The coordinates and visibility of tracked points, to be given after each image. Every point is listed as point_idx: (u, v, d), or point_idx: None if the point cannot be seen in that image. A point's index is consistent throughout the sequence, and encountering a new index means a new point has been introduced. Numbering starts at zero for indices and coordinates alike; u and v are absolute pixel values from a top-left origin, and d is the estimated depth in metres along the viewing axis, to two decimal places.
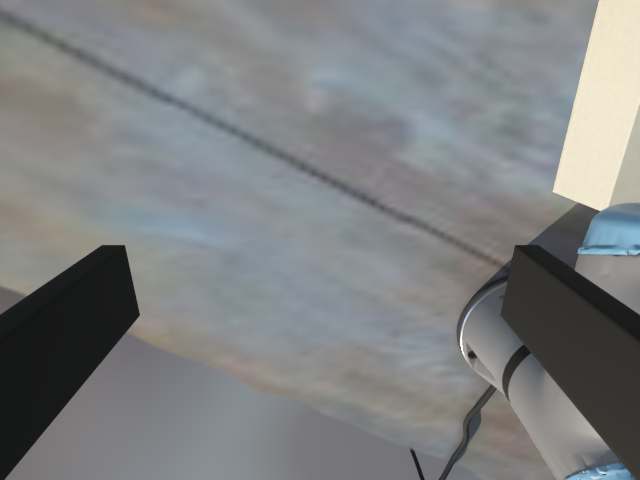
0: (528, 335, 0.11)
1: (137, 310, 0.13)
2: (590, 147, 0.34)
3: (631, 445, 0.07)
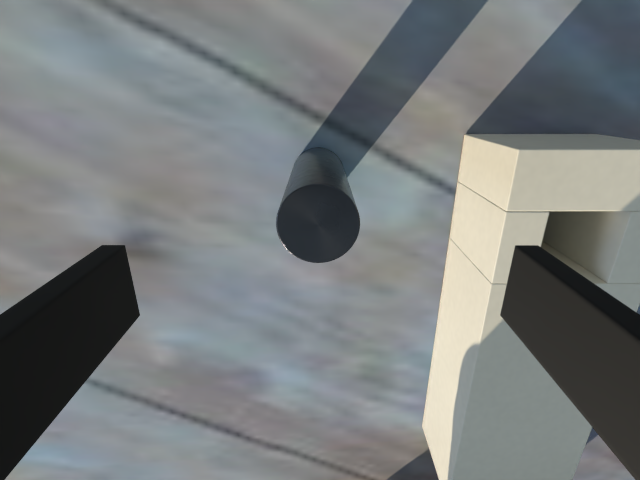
0: (528, 335, 0.11)
1: (137, 310, 0.13)
2: (439, 420, 0.33)
3: (631, 445, 0.07)
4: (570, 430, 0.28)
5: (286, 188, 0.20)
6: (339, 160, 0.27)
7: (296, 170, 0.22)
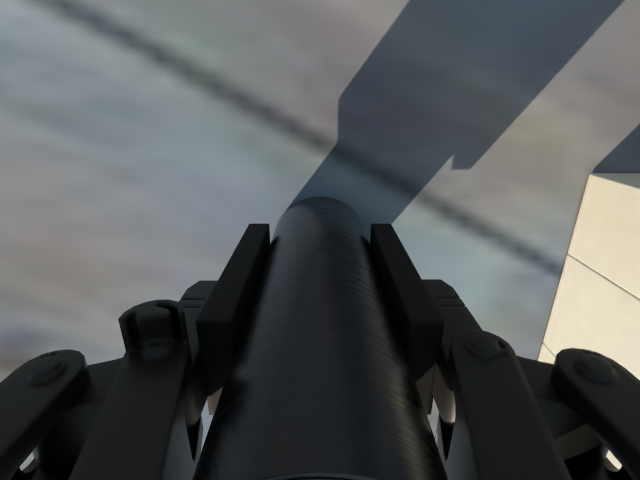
0: None
1: None
2: None
3: None
4: None
5: (234, 355, 0.07)
6: (359, 223, 0.14)
7: (269, 277, 0.09)
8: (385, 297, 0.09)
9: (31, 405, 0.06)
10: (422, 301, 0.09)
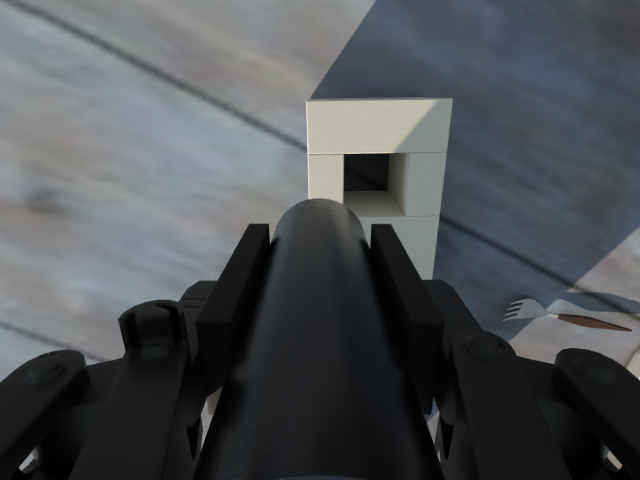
0: None
1: None
2: None
3: None
4: None
5: (233, 357, 0.07)
6: (359, 224, 0.14)
7: (269, 279, 0.09)
8: (384, 299, 0.09)
9: (31, 405, 0.06)
10: (422, 301, 0.09)
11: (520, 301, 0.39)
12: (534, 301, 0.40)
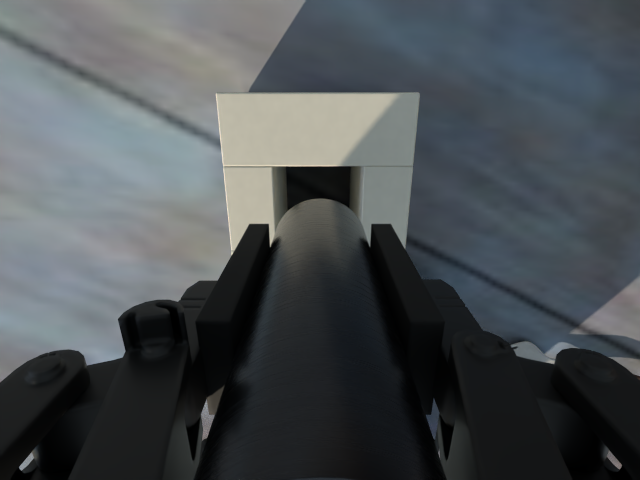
0: None
1: None
2: None
3: None
4: None
5: (235, 358, 0.07)
6: (359, 225, 0.14)
7: (269, 279, 0.09)
8: (385, 299, 0.09)
9: (31, 405, 0.06)
10: (422, 301, 0.09)
11: (514, 345, 0.32)
12: (531, 344, 0.33)
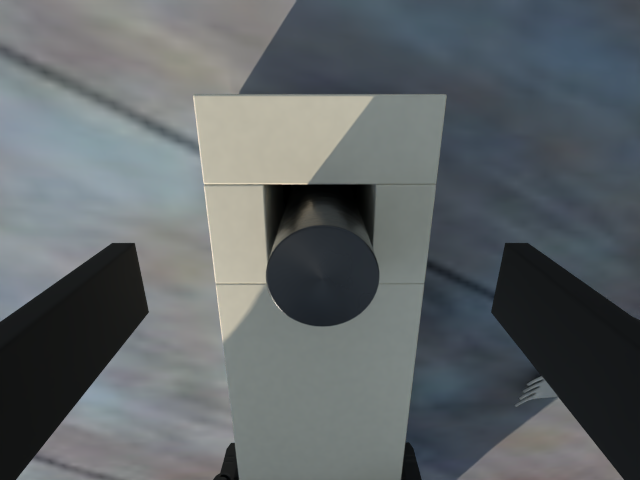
0: (517, 331, 0.11)
1: (146, 307, 0.13)
2: None
3: (613, 437, 0.08)
4: (375, 470, 0.22)
5: (281, 222, 0.15)
6: None
7: (294, 196, 0.17)
8: (357, 206, 0.17)
9: None
10: None
11: (540, 379, 0.28)
12: None
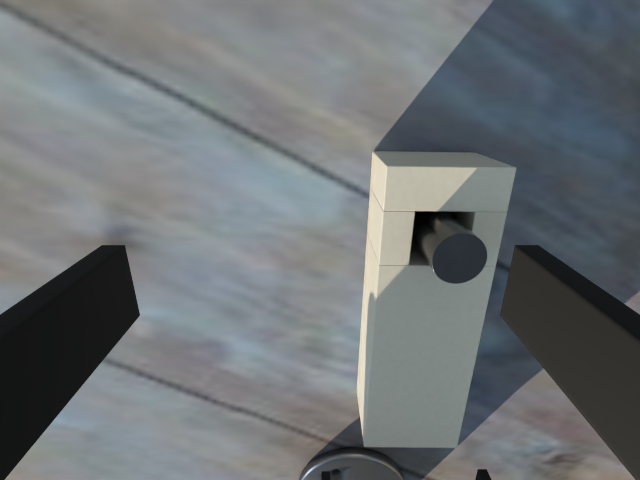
0: (528, 335, 0.11)
1: (137, 310, 0.13)
2: (362, 381, 0.40)
3: (631, 445, 0.07)
4: (454, 384, 0.35)
5: (425, 231, 0.29)
6: None
7: (422, 215, 0.31)
8: None
9: None
10: None
11: None
12: None
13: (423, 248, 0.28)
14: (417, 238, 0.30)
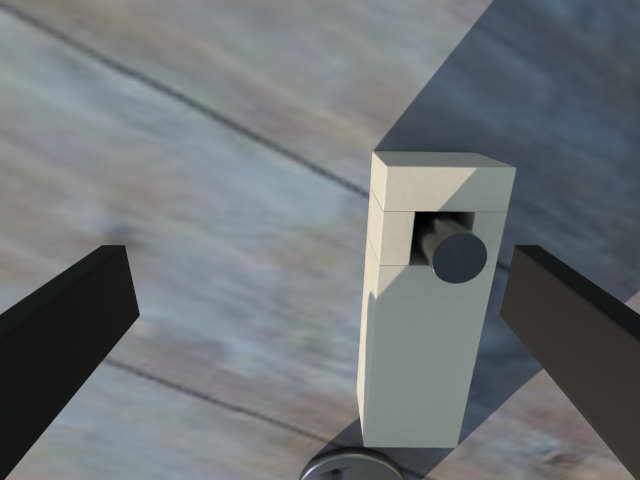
0: (528, 335, 0.11)
1: (137, 310, 0.13)
2: (362, 381, 0.40)
3: (631, 445, 0.07)
4: (454, 384, 0.35)
5: (425, 231, 0.29)
6: None
7: (422, 215, 0.31)
8: None
9: None
10: None
11: None
12: None
13: (423, 248, 0.28)
14: (417, 238, 0.30)
